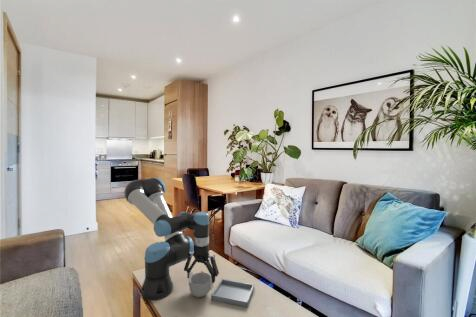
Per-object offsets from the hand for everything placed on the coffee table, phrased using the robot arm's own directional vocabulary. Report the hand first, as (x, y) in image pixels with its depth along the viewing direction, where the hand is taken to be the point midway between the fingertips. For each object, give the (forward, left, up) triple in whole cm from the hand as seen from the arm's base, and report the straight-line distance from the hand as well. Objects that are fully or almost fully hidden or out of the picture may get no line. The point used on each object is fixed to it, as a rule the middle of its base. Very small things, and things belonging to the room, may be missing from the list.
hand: (201, 286), depth 121 cm
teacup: (0, 0, -3) cm, 3 cm away
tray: (+16, +3, -3) cm, 17 cm away
